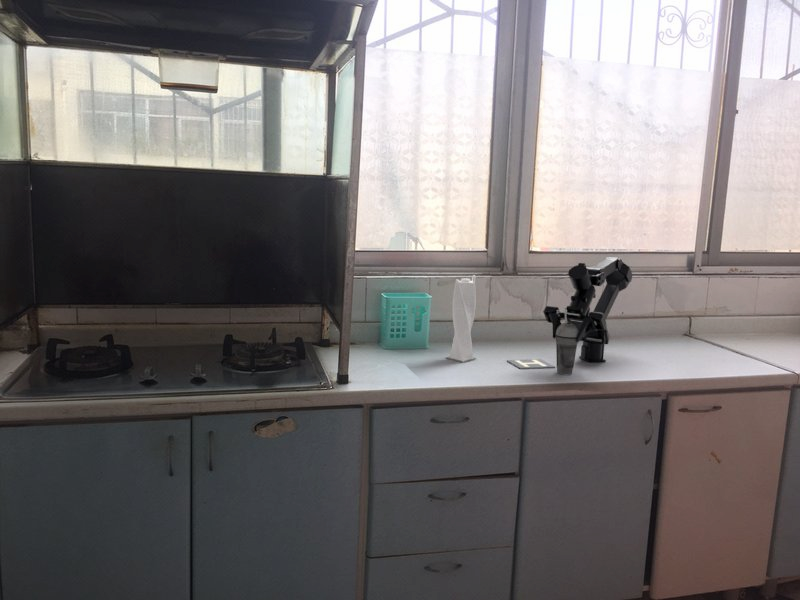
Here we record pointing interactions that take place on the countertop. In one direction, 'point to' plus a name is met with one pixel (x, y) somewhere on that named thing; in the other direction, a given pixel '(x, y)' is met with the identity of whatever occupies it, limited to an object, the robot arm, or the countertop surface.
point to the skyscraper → (463, 319)
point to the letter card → (530, 363)
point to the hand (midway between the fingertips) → (565, 339)
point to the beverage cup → (566, 346)
